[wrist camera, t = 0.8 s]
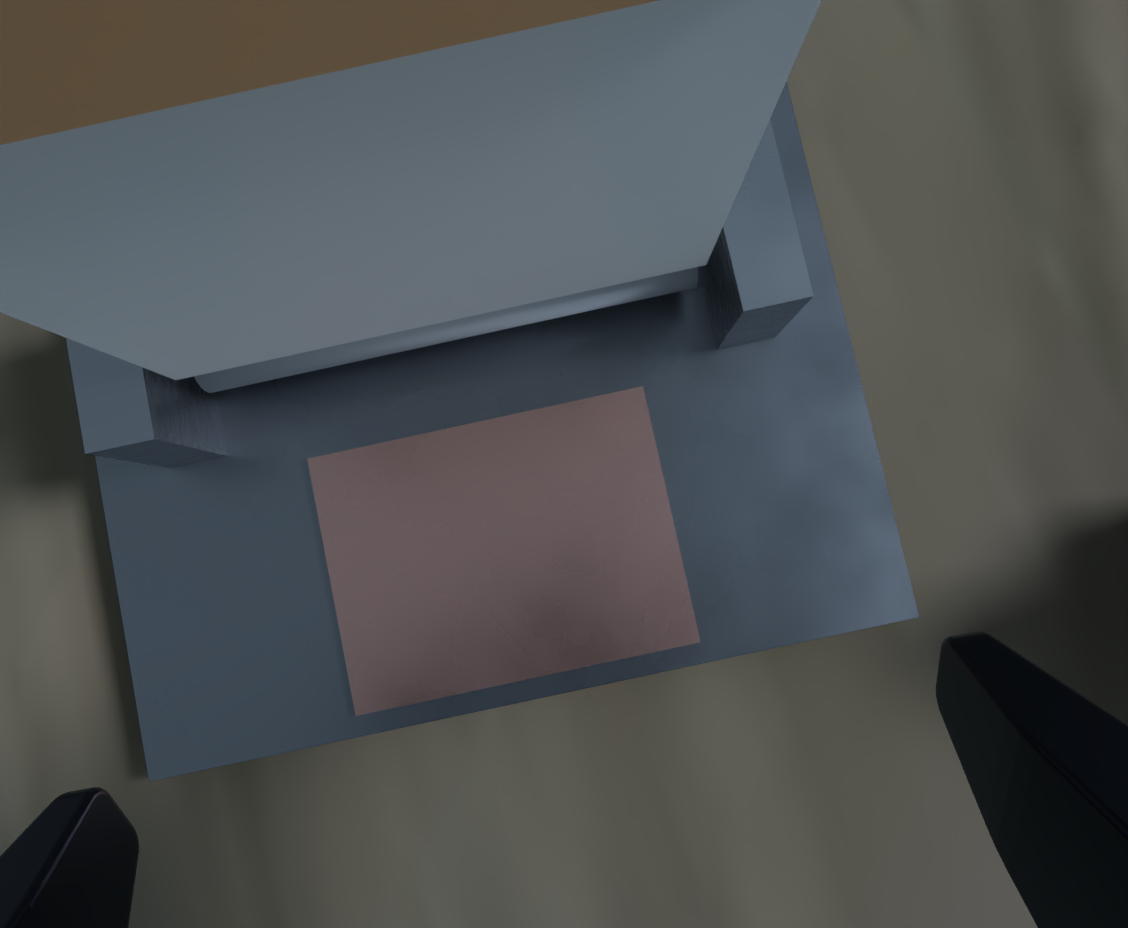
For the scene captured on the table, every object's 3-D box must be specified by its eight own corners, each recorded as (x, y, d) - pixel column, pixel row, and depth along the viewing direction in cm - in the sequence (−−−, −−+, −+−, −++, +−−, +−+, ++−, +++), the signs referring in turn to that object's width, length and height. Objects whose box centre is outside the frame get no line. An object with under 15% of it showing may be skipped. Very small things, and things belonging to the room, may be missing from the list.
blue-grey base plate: (903, 613, 21) (990, 633, 16) (169, 769, 21) (56, 832, 17) (732, -79, 23) (768, -232, 18) (52, 71, 23) (-80, -45, 18)
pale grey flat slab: (696, 313, 20) (970, -252, 6) (225, 415, 20) (-663, 111, 6) (672, 213, 20) (880, -570, 6) (207, 314, 20) (-692, -218, 6)
